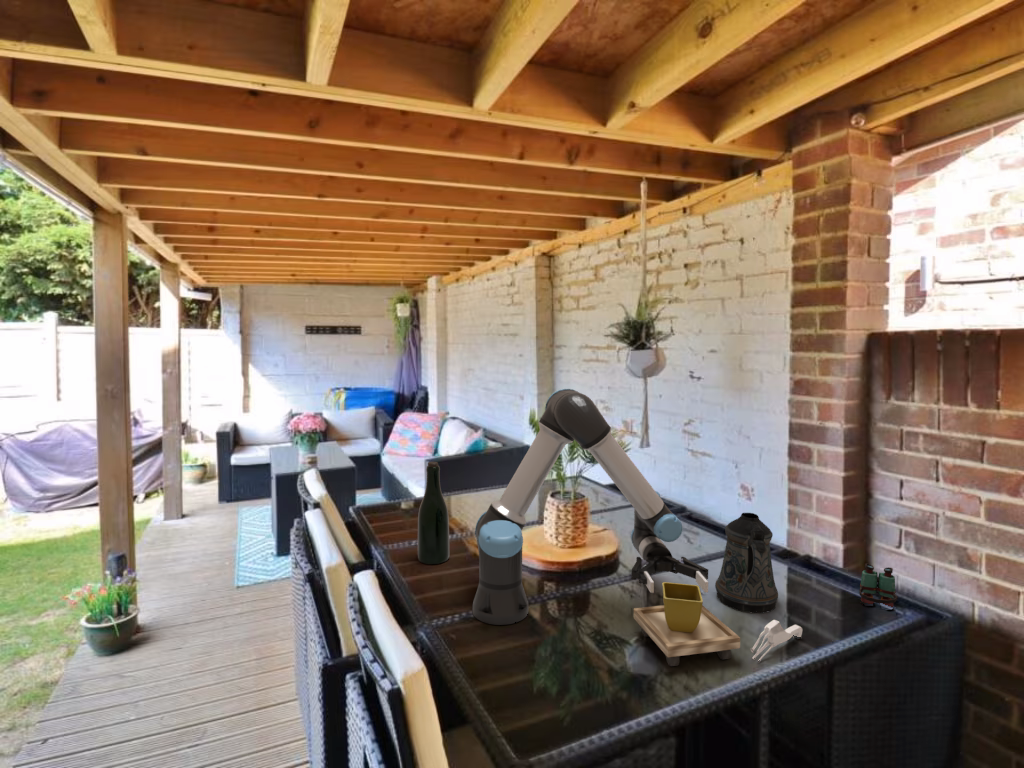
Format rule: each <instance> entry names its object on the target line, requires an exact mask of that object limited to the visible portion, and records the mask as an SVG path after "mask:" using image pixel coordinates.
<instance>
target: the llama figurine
mask: <svg viewBox="0 0 1024 768" xmlns="http://www.w3.org/2000/svg"><path fill="white" fill-rule="evenodd" d="M793 635H794V636H797V637H801V638H802V635H803V627H801V626H800V625H798V624H793V625H791V626H789V627H787V628H786V629H784V628H783V627H782V625H781V623H780V621H778V620H776V619H773V620H771V621H770V622H768V623H767V624H766V625H765V626H764V629H763V631H762V632H761V633H760V634H759V636H758V639H757V640H756V641H755V643H754V645H753V647H750V651H751V653H752V654H754V652H755V649H756V647H758V645H759V643H760V640H761V638H762V637H763V639H762V642H761V645H760V646H759V647H758V649H757V650H756V652H755V654H754V655H753V656H752V657H751V658H752V659H753V660H755V659H756V658H757V656H758V655H760V654H761V653H762V652H763V651H764V650H765V649H766V648H767V647H768V646H770V647H769V648H768V649H767V650H766V651H765V652H764V653H763V654H762V655H761V656H760V658H759V659H758V661H759V660H760V661H761V660H762V659H763V658H764V657H765V656H766V655H767V654H768V652H769V651H770V650H772V648H775V647H776V646H778V645H780V644H782V643H785V642H787V641H788V640H790V639H791V638H792V637H794V636H793ZM765 640H767V641H765ZM764 642H765V643H764ZM754 658H755V659H754ZM758 661H757V662H758Z"/></svg>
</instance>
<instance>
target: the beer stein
mask: <svg viewBox="0 0 1024 768" xmlns="http://www.w3.org/2000/svg"><path fill="white" fill-rule="evenodd" d="M724 530H725V535H726V542H725V543H726V545H725V547H724V553H723V554H724V555H723V560H722V564H721V569H720V572H719V575H718V578H717V579H716V581H715V585H714V587H715V590H716V591H715V592H716V597H717V599H718V600H719V602H720V603H722V604H723V605H725V606H726V607H728V608H731V609H734V610H736V611H740V612H745V613H750V612H752V614H764V613H768V612H767V611H769V612H772V611H773V610H774V609H775V608H776V606H777V602H778V599H779V592H778V588H777V586H776V583H775V576H774V572H773V563H772V554H771V547H770V546H771V545H770V544H771V542H772V538H773V532H772V531H771V529H770V527H768V525H767V524H765V523H764V522H763V521H762V520H761V519H760V517H759V515H758V514H756V513H753V512H742V513H741V515H740V516H738V518H736V519H733V520H731V521H730V522H728V523H727V524H726V526H725V528H724ZM772 609H773V610H772ZM771 610H772V611H771ZM763 612H764V613H763Z"/></svg>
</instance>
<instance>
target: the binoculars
mask: <svg viewBox="0 0 1024 768" xmlns="http://www.w3.org/2000/svg"><path fill="white" fill-rule="evenodd" d="M864 564H865V565H864V566H865V567H864V568H865V570H863V571H862V572H861V580H860V583H859V596H860V600H861V601H862V602H864V603H868V604H873V603H874V604H875V603H876V604H880V603H883V604H885V605H888V606H891V607H893V606H894V604H895V602H897V600H898V599H899V597H898V595H896V593H897V591H896V577H895V575H894V574H893V571H894V569H893V567H884V568H883V572H880V571H879V572H877V571H874V569H875V567H874V566H873V565H871V564H870V563H864ZM892 574H893V575H892ZM877 593H878V595H880V596H881V597H880V599H878V598H875V597H874V596H873V595H875V594H877ZM894 607H895V606H894Z"/></svg>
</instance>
